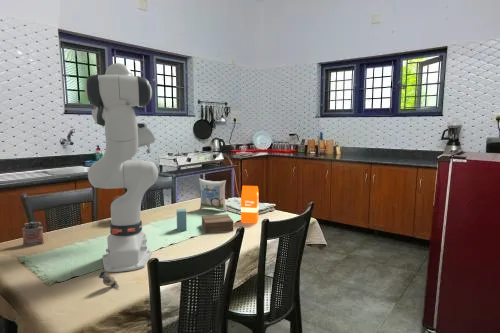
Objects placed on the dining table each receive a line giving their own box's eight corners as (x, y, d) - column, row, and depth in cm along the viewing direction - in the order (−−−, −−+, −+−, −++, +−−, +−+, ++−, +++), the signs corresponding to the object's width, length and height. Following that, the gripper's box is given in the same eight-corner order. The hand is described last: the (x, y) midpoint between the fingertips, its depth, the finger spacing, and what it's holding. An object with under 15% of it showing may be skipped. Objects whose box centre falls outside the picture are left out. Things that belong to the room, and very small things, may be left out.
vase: (101, 294, 104) (100, 275, 104) (97, 288, 109) (96, 270, 108) (119, 289, 107) (118, 271, 107) (115, 284, 112) (113, 266, 111)
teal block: (186, 230, 169) (186, 211, 168) (177, 231, 167) (177, 211, 166) (185, 227, 173) (185, 209, 172) (176, 228, 172) (176, 209, 171)
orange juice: (256, 223, 182) (257, 187, 180) (240, 222, 183) (240, 186, 181) (258, 219, 190) (258, 184, 187) (243, 218, 191) (243, 184, 189)
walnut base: (233, 230, 169) (233, 221, 168) (205, 233, 165) (205, 223, 164) (227, 223, 182) (227, 214, 181) (201, 225, 178) (201, 215, 177)
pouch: (203, 207, 217) (203, 177, 215) (229, 210, 209) (229, 179, 207) (196, 209, 210) (196, 178, 208) (222, 213, 202) (222, 181, 200)
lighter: (21, 246, 145) (20, 223, 144) (24, 243, 148) (23, 221, 147) (42, 244, 147) (41, 222, 146) (45, 242, 150) (43, 220, 149)
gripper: (106, 135, 155) (118, 161, 154) (149, 122, 164) (160, 147, 163) (107, 139, 161) (118, 165, 160) (148, 126, 170) (158, 151, 168)
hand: (139, 156), depth 161 cm, fingers open, 8 cm apart
